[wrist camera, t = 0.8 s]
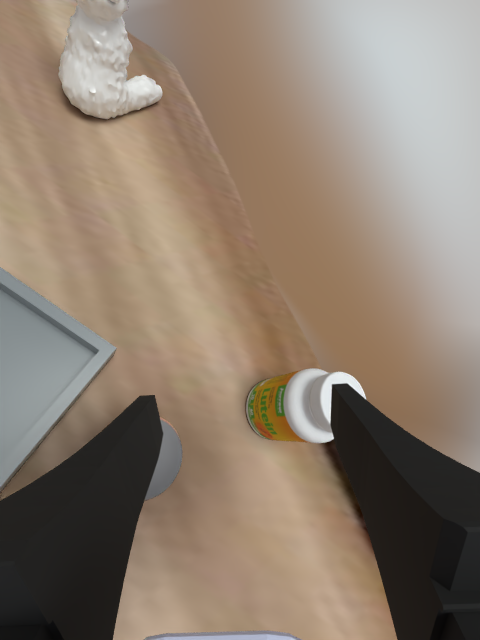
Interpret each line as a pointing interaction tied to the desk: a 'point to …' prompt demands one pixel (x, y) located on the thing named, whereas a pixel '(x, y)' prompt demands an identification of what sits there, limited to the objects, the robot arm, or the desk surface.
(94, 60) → the white creature statuette
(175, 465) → the shaker
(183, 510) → the desk surface
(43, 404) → the tray
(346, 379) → the supplement bottle
